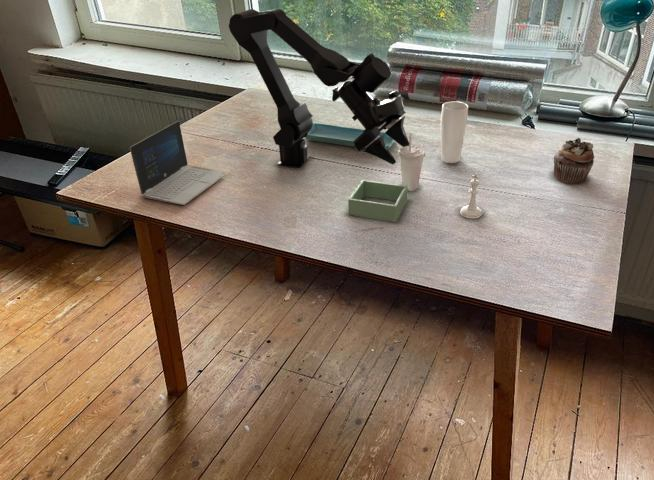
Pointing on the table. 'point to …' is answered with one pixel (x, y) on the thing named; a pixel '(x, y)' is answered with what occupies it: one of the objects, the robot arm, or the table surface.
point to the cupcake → (573, 161)
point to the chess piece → (472, 201)
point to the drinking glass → (453, 130)
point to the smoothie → (411, 164)
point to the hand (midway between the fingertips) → (402, 156)
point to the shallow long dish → (339, 135)
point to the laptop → (169, 168)
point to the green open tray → (375, 208)
